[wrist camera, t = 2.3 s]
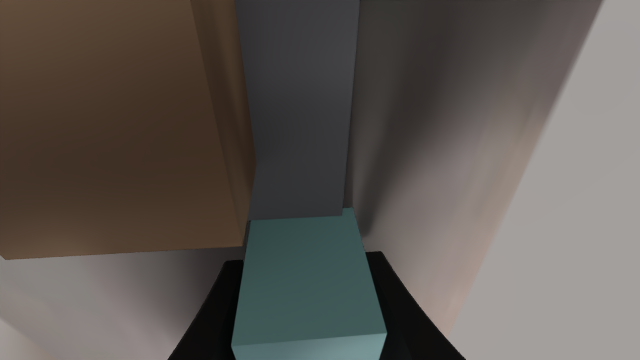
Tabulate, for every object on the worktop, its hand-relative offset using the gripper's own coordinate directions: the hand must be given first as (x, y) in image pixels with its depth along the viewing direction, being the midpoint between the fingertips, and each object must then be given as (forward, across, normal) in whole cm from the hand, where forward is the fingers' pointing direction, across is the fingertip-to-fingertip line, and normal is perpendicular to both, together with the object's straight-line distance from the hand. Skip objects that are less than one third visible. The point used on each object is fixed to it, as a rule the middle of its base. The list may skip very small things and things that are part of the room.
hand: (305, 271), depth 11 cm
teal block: (+2, 0, 0) cm, 2 cm away
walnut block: (+1, +4, -7) cm, 8 cm away
